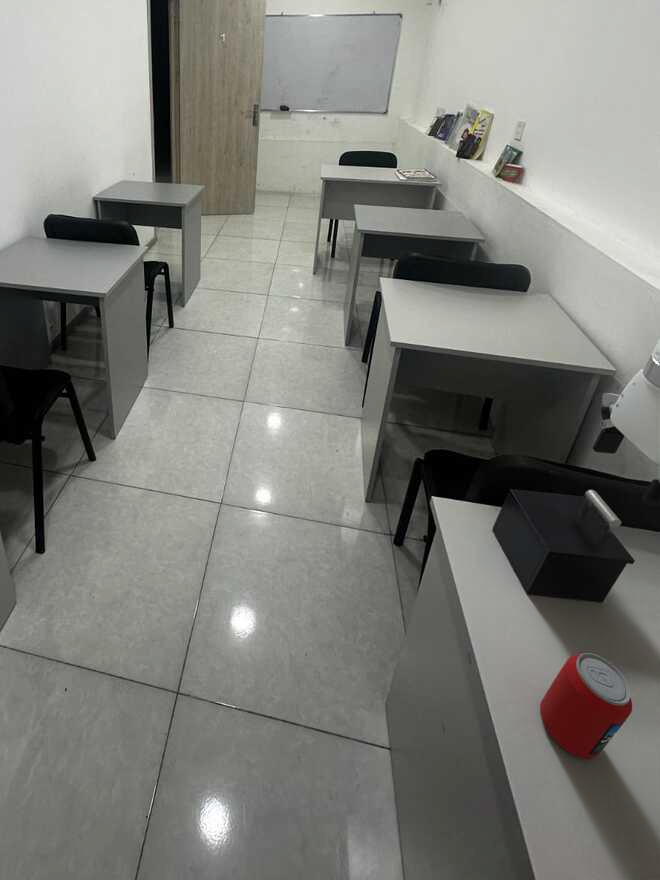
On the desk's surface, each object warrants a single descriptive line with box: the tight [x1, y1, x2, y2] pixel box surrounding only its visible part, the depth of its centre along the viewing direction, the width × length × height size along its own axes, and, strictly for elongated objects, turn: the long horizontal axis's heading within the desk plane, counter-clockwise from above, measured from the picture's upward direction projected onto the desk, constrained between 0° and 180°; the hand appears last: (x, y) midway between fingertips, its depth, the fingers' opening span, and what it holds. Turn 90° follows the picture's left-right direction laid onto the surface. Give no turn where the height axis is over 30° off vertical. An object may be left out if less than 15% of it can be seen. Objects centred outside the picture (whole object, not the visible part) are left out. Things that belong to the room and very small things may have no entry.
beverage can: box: [539, 652, 633, 760], centre depth 61 cm, size 7×7×12 cm
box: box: [491, 492, 627, 604], centre depth 83 cm, size 12×12×10 cm
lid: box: [508, 488, 636, 565], centre depth 80 cm, size 13×12×6 cm
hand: (626, 475), depth 70 cm, fingers open, 9 cm apart
